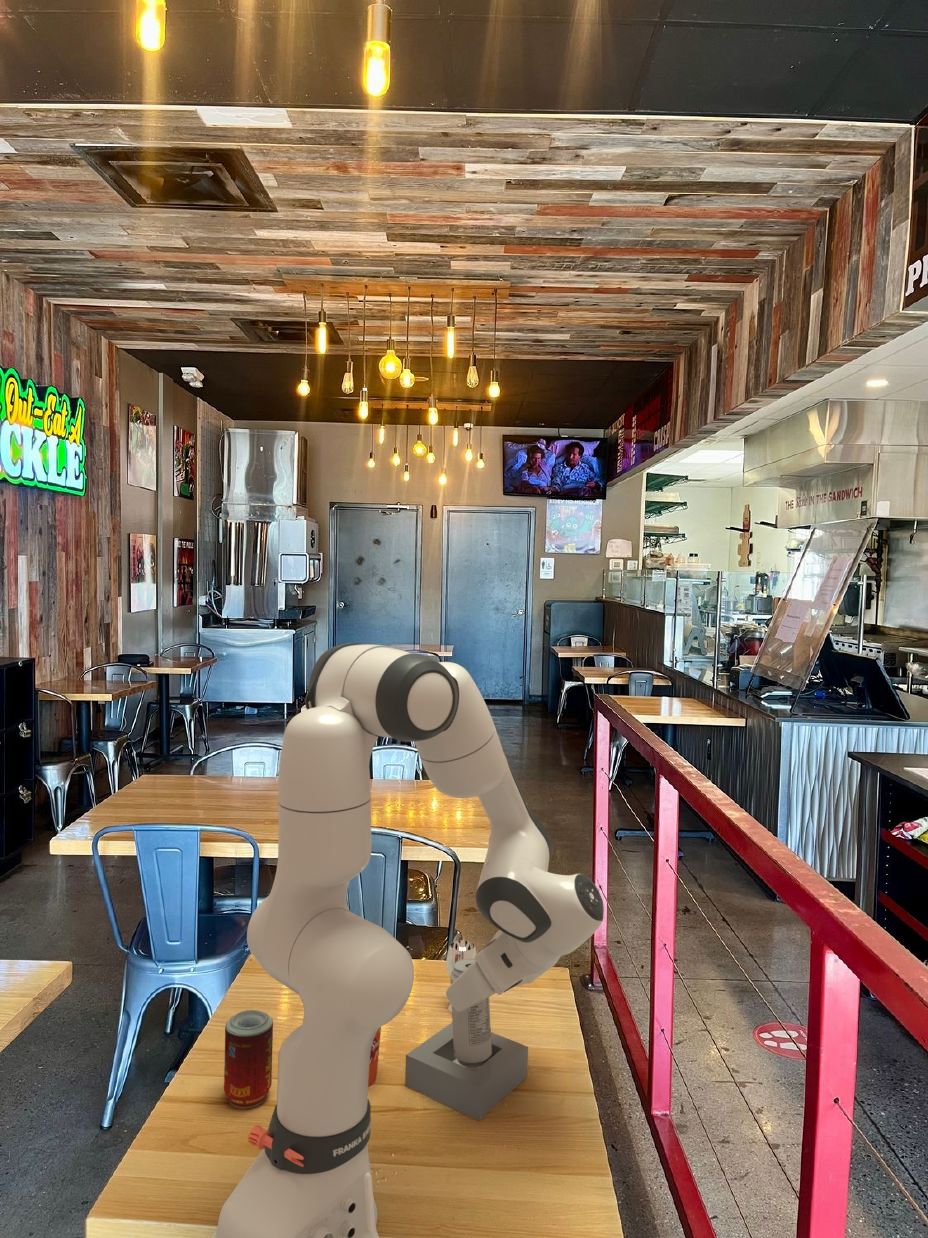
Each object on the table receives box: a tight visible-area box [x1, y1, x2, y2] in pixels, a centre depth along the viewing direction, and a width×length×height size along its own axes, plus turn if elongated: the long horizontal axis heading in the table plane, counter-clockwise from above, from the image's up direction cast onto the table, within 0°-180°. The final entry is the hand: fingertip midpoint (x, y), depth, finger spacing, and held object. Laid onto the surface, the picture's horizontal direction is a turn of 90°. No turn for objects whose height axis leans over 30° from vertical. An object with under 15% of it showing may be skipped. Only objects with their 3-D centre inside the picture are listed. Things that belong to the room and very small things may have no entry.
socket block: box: [404, 1022, 529, 1121], centre depth 134 cm, size 14×14×5 cm
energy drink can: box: [449, 959, 492, 1067], centre depth 134 cm, size 6×6×15 cm
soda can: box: [223, 1009, 274, 1109], centre depth 128 cm, size 7×7×12 cm
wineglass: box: [445, 939, 477, 1014], centre depth 157 cm, size 6×6×12 cm
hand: (467, 993), depth 134 cm, fingers closed on energy drink can, 6 cm apart
